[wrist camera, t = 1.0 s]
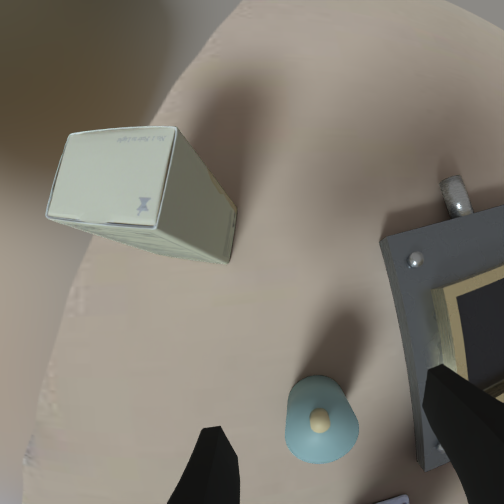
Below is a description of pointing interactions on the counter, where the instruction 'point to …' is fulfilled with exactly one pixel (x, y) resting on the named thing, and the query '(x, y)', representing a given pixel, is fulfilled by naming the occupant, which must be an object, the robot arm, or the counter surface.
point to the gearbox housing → (449, 303)
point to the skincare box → (143, 193)
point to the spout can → (319, 421)
